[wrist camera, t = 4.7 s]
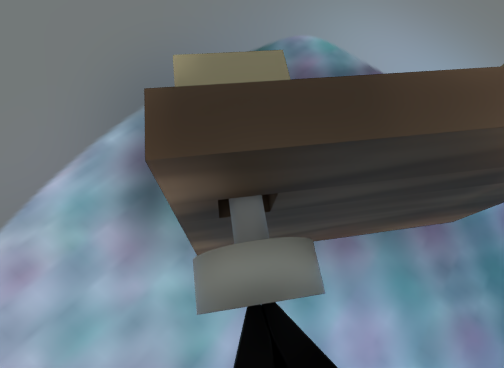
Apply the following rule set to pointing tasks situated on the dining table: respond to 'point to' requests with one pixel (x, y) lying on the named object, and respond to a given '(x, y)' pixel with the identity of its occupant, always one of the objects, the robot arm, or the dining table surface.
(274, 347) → the robot arm
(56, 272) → the dining table surface
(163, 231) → the dining table surface
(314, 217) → the knob mount
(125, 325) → the dining table surface
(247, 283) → the knob
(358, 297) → the dining table surface
